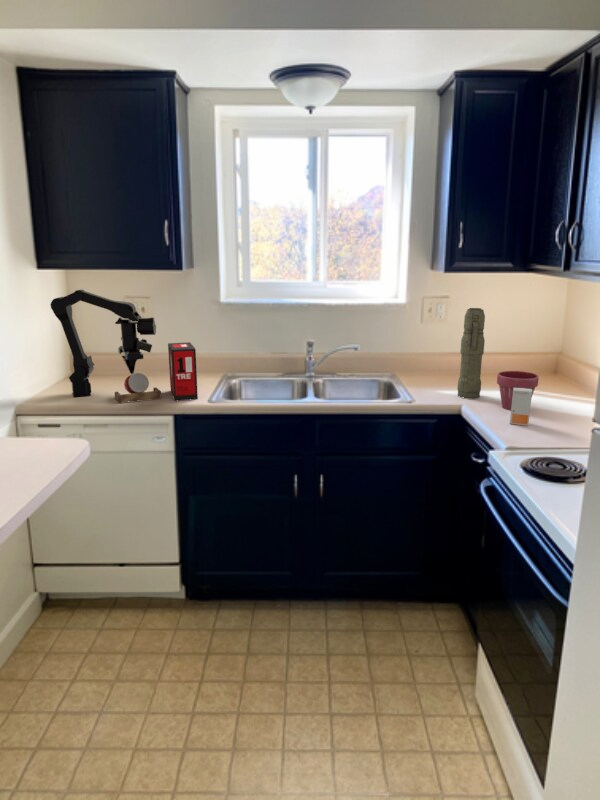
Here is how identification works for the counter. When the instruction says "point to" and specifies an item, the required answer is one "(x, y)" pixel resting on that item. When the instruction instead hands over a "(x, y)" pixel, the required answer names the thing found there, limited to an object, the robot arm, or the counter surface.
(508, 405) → the plant pot
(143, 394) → the tan bone-shaped block
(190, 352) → the cleaning product box
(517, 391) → the skincare box
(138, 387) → the canned food
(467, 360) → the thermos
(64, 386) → the counter surface
